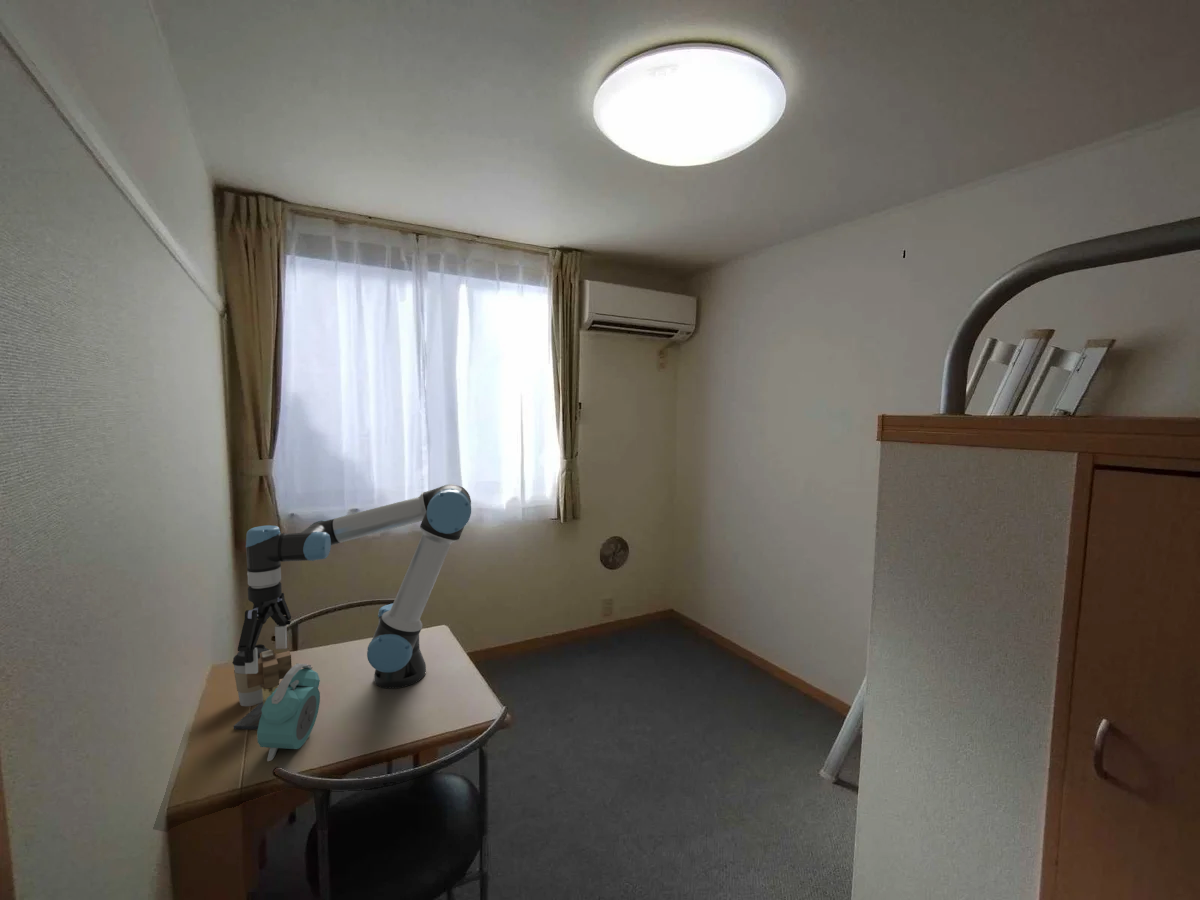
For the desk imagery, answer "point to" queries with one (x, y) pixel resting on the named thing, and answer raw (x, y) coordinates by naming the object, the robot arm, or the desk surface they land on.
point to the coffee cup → (246, 694)
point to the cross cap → (270, 669)
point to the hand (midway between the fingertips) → (267, 660)
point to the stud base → (254, 713)
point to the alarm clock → (290, 711)
